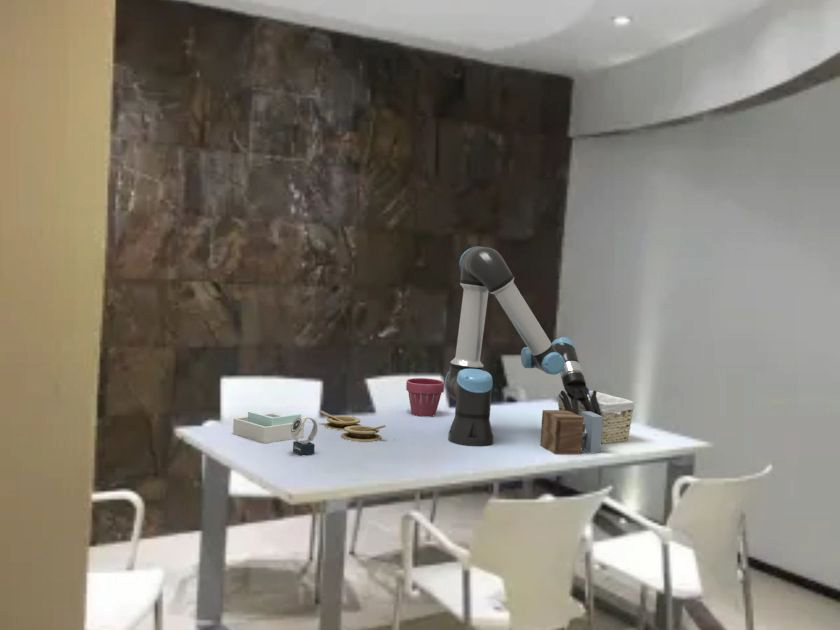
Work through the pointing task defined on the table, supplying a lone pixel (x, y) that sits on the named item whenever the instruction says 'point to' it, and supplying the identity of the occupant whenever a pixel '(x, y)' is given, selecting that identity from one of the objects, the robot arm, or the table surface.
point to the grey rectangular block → (592, 431)
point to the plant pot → (424, 395)
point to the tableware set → (352, 428)
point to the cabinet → (562, 432)
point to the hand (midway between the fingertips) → (590, 434)
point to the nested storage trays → (263, 430)
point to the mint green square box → (271, 419)
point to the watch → (306, 445)
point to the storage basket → (610, 416)
